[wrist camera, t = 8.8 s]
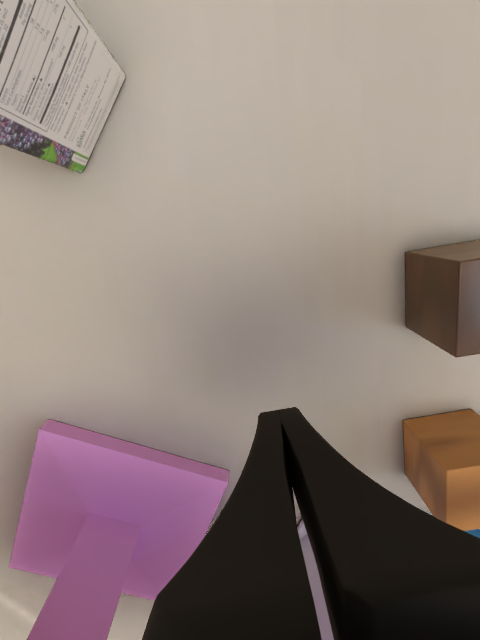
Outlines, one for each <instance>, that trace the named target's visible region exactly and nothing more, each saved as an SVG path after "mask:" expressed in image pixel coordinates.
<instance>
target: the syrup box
mask: <svg viewBox="0 0 480 640" xmlns="http://www.w3.org/2000/svg"><path fill="white" fill-rule="evenodd" d="M125 76H126V75H125V73H124V72H123V70H122V69H121V67H120V66H119V65H118V63H117V61H116V60H115V59H114V57H113V56H112V55H111V53H110V52H109V50H108V49H107V47H106V46H105V44H104V43H103V41H102V40H101V38H100V37H99V36H98V34H97V33H96V31H95V30H94V29H93V27H92V26H91V24H90V23H89V21H88V20H87V18H86V17H85V16H84V14H83V13H82V11H81V10H80V9H79V7H78V6H77V4H76V3H75V2H74V0H0V144H2V145H5V146H8V147H10V148H13V149H16V150H19V151H21V152H24V153H27V154H30V155H33V156H35V157H38V158H41V159H43V160H46V161H49V162H52V163H55V164H57V165H60V166H63V167H65V168H68V169H71V170H74V171H76V172H79V173H82V172H83V170H84V168H85V166H86V163H87V161H88V159H89V157H90V155H91V153H92V151H93V148H94V146H95V144H96V142H97V139H98V137H99V135H100V133H101V131H102V129H103V126H104V124H105V122H106V120H107V118H108V115H109V113H110V111H111V109H112V106H113V104H114V102H115V99H116V97H117V95H118V93H119V90H120V88H121V86H122V84H123V81H124V79H125Z"/></svg>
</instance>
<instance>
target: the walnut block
mask: <svg viewBox="0 0 480 640" xmlns="http://www.w3.org/2000/svg"><path fill="white" fill-rule="evenodd" d="M405 258H406V327H407V328H409V329H410V330H412V331H413V332H415V333H417V334H418V335H420V336H422V337H423V338H425V339H427V340H428V341H430V342H431V343H433V344H435V345H436V346H438V347H440V348H441V349H443V350H445V351H446V352H448V353H449V354H451V355H453V356H454V357H462V356H468V355H475V354H480V240H474V241H468V242H462V243H456V244H450V245H444V246H438V247H432V248H426V249H420V250H414V251H408V252H406V253H405Z"/></svg>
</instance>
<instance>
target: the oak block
mask: <svg viewBox="0 0 480 640" xmlns="http://www.w3.org/2000/svg"><path fill="white" fill-rule="evenodd" d="M403 430H404V458H405V475H406V476H407V478H408V479H409V481H410V482H411V483H412V485H413V486H414V488H415V489H416V491H417V492H418V494H419V495H420V497H421V498H422V500H423V501H424V503H425V504H426V506H427V507H428V508H429V510H430V511H431V513H432V514H433V516H434V517H435V518H437V519H439V520H441V521H443V522H445V523H447V524H450V525H452V526H454V527H456V528H458V529H461V530H463V531H468V530H474V529H480V415H479V414H477V413H476V412H475V411H474V410H472V409H467V410H461V411H455V412H449V413H443V414H437V415H431V416H425V417H419V418H413V419H407V420H403Z"/></svg>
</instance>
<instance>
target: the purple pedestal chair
mask: <svg viewBox="0 0 480 640" xmlns="http://www.w3.org/2000/svg"><path fill="white" fill-rule="evenodd" d="M228 480H229V471H228V470H225V469H221V468H218V467H214V466H211V465H207V464H204V463H200V462H197V461H193V460H190V459H186V458H183V457H179V456H176V455H172V454H169V453H165V452H162V451H158V450H155V449H151V448H148V447H144V446H141V445H137V444H134V443H130V442H127V441H124V440H120V439H117V438H113V437H110V436H106V435H103V434H99V433H96V432H92V431H89V430H85V429H82V428H78V427H75V426H71V425H68V424H64V423H61V422H57V421H54V420H50V419H48V420H47V421H46V422H45V423H44V424H43V425H42V427H41V428H40V429H39V431H38V436H37V440H36V445H35V450H34V454H33V459H32V463H31V468H30V472H29V477H28V482H27V486H26V491H25V495H24V500H23V504H22V509H21V514H20V518H19V523H18V527H17V532H16V536H15V541H14V546H13V550H12V555H11V559H10V564H9V567H10V568H14V569H18V570H23V571H27V572H32V573H36V574H40V575H45V576H49V577H54V578H57V580H56V582H55V584H54V586H53V588H52V590H51V592H50V594H49V596H48V598H47V600H46V602H45V604H44V606H43V608H42V610H41V612H40V614H39V616H38V618H37V620H36V622H35V624H34V626H33V628H32V630H31V632H30V634H29V636H28V638H27V640H107V637H108V634H109V631H110V627H111V624H112V621H113V617H114V614H115V611H116V608H117V604H118V601H119V598H120V594H121V593H124V594H128V595H133V596H137V597H142V598H146V599H150V600H155V599H156V597H157V595H158V594H159V593H160V591H161V590H162V589H163V588H164V587H165V586H166V585H167V584H168V582H169V581H170V580H171V579H172V578H173V577H174V575H175V574H176V573H177V572H178V571H179V570H180V568H181V567H182V566H183V565H184V564H185V563H186V561H187V560H188V559H189V558H190V556H191V555H192V554H193V552H194V551H195V550H196V548H197V547H198V545H199V544H200V543H201V541H202V540H203V539H204V536H205V534H206V532H207V530H208V527H209V525H210V523H211V521H212V518H213V516H214V514H215V512H216V509H217V507H218V505H219V503H220V501H221V498H222V496H223V494H224V492H225V489H226V487H227V485H228Z"/></svg>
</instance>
